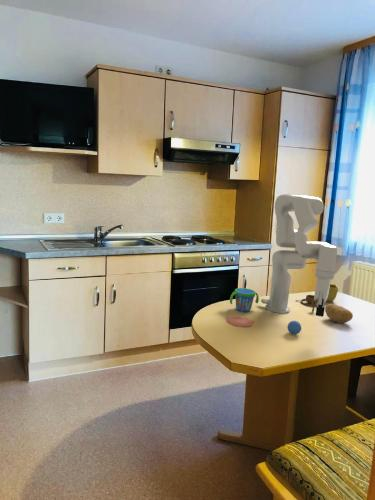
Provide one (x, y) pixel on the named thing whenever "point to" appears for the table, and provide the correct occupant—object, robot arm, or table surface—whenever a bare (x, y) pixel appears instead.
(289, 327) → the ball
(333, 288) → the flower pot
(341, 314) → the potato
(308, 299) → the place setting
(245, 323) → the disc
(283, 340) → the table surface
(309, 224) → the robot arm
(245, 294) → the snack cup
